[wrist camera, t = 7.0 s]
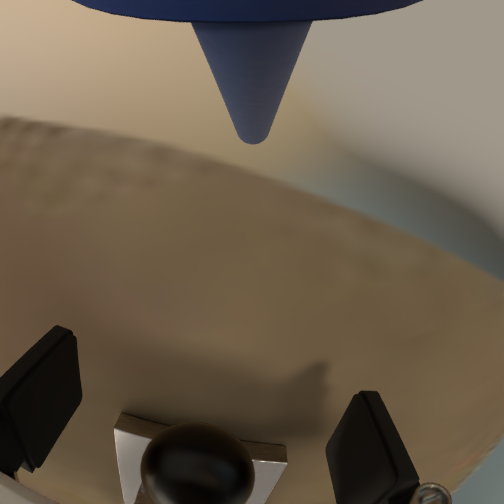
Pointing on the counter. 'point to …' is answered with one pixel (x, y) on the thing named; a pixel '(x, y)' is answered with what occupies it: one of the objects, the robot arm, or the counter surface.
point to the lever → (197, 466)
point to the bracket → (143, 431)
